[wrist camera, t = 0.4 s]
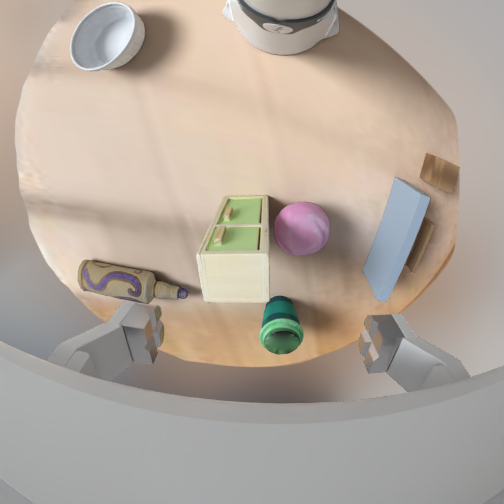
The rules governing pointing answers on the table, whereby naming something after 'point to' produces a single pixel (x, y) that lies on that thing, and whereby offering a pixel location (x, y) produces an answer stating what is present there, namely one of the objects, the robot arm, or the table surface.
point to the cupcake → (301, 228)
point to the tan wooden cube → (439, 173)
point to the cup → (280, 326)
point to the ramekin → (107, 37)
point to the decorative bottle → (125, 283)
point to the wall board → (398, 238)
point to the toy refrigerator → (237, 252)
